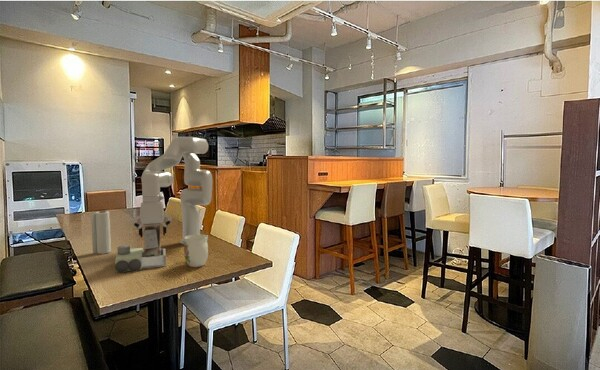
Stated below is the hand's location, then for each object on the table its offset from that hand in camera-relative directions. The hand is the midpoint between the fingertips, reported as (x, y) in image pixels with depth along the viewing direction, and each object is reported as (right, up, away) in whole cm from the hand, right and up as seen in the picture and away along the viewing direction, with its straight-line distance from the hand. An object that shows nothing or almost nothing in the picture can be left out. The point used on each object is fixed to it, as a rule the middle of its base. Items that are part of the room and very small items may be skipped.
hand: (153, 235), depth 155 cm
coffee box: (0, -12, +1) cm, 12 cm away
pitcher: (+20, -14, 0) cm, 24 cm away
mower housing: (-9, -13, -3) cm, 16 cm away
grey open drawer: (0, -13, +1) cm, 13 cm away
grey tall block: (-33, -12, +17) cm, 39 cm away
